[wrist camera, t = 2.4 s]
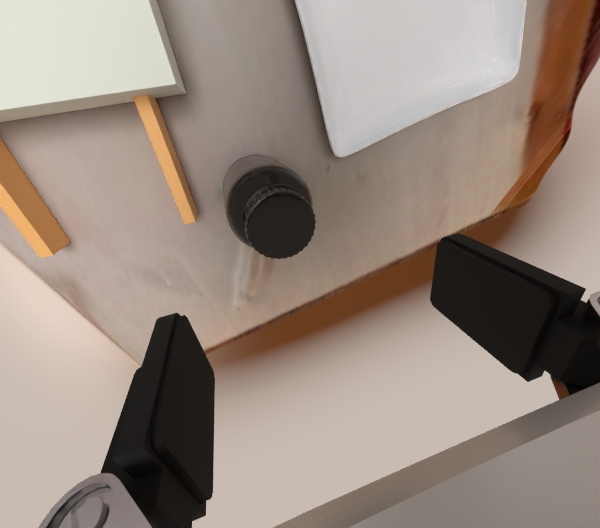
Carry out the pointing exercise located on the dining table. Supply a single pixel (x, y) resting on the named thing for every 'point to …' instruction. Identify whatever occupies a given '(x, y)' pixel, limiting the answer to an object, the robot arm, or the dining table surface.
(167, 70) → the block with grey puck
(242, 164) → the supplement bottle
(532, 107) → the dining table surface
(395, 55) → the salad plate
